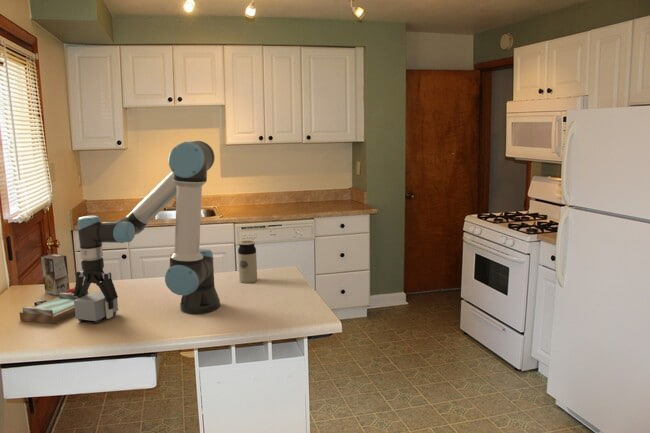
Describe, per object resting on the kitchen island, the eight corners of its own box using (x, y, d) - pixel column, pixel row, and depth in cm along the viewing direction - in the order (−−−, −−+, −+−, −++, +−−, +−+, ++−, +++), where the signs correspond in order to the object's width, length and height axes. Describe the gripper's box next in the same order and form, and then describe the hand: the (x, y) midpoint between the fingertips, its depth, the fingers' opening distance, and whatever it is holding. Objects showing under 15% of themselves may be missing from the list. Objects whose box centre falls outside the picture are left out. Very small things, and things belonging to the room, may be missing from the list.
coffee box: (70, 291, 239) (67, 255, 236) (56, 296, 234) (52, 258, 231) (58, 288, 244) (54, 253, 241) (44, 292, 238) (40, 256, 236)
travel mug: (248, 277, 256) (246, 239, 253) (260, 280, 251) (259, 241, 248) (235, 281, 249) (234, 242, 246) (248, 284, 245) (247, 244, 242)
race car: (68, 303, 224) (67, 294, 223) (57, 303, 225) (56, 293, 225) (90, 293, 236) (89, 284, 236) (80, 293, 238) (79, 284, 237)
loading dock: (91, 307, 218) (90, 295, 217) (54, 324, 200) (53, 311, 199) (59, 303, 223) (58, 292, 222) (20, 320, 205) (18, 307, 204)
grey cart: (118, 313, 210) (116, 292, 208) (96, 325, 199) (94, 302, 197) (99, 311, 213) (97, 290, 211) (76, 322, 201) (73, 300, 200)
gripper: (59, 258, 202) (65, 316, 206) (111, 262, 195) (116, 322, 198) (74, 254, 209) (79, 309, 213) (125, 257, 202) (129, 315, 205)
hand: (97, 316), depth 205 cm, fingers open, 10 cm apart
